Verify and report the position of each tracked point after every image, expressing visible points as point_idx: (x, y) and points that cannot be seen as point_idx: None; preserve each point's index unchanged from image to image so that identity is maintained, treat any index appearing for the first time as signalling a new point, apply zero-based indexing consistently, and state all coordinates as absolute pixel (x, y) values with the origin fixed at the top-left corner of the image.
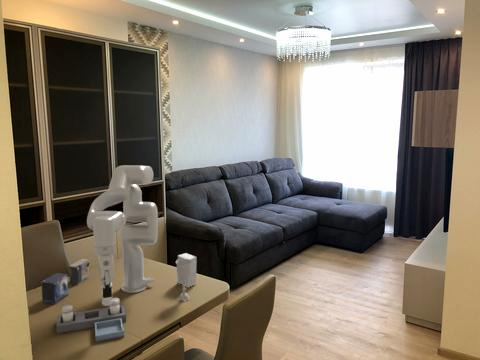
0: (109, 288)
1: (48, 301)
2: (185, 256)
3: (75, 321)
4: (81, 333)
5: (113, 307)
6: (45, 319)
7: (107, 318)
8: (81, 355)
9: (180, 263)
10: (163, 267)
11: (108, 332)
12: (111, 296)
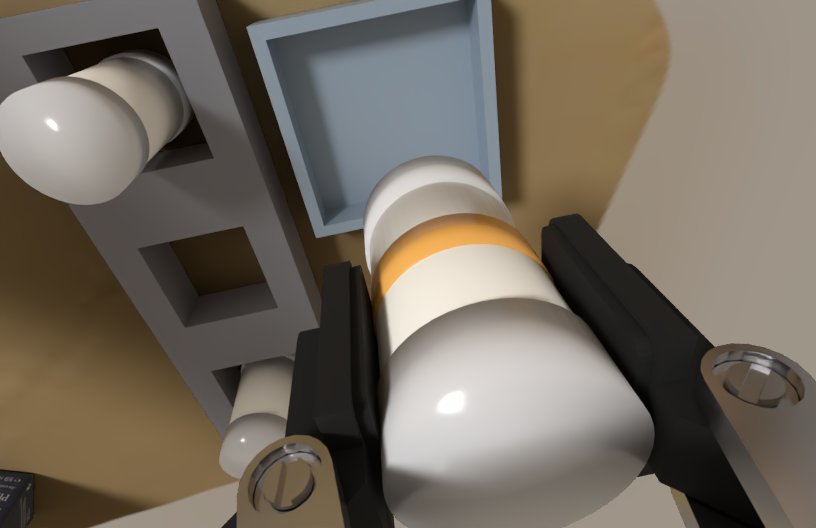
0: (722, 358)
1: (24, 510)
2: None
3: None
4: (368, 278)
5: (152, 134)
6: (205, 457)
7: (257, 158)
8: (597, 229)
9: None
10: None
11: (405, 117)
12: (576, 220)
